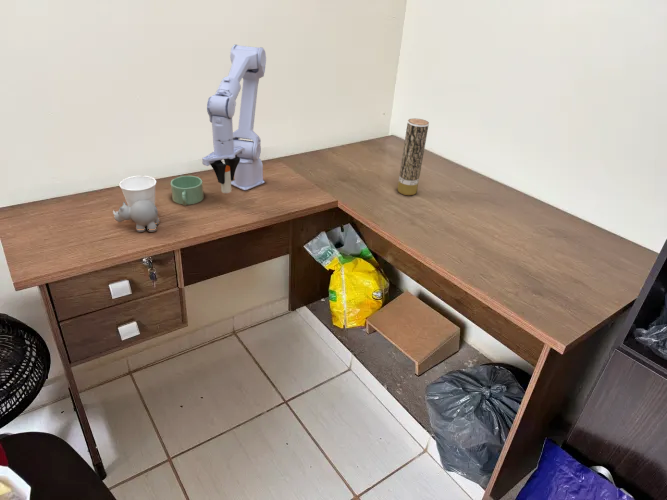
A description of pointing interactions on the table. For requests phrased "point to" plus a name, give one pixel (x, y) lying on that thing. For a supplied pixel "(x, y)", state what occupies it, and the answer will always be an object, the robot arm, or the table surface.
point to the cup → (138, 189)
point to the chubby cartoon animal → (139, 215)
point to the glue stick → (227, 181)
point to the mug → (187, 190)
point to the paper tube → (412, 156)
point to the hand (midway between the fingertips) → (225, 181)
